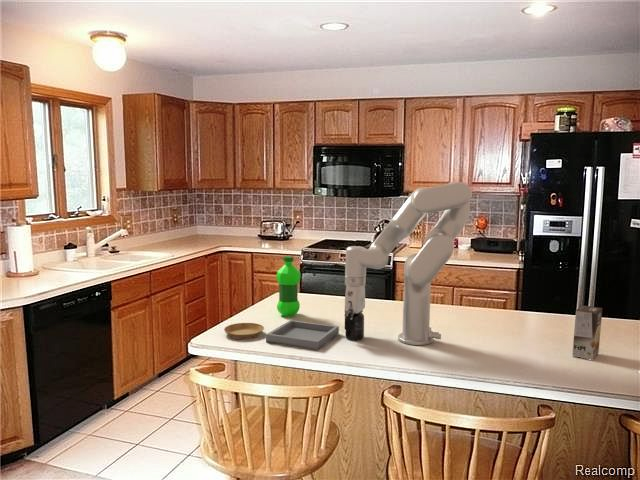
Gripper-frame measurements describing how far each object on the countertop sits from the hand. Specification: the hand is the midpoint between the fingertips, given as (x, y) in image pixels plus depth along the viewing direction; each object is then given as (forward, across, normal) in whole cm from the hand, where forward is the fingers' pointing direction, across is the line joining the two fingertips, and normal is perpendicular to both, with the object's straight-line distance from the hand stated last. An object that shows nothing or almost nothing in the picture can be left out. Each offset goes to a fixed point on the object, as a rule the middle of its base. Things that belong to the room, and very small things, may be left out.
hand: (353, 326), depth 192 cm
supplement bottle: (+5, 0, -1) cm, 5 cm away
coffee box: (+3, +15, -78) cm, 79 cm away
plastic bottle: (+5, +18, +35) cm, 40 cm away
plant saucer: (+6, -13, +38) cm, 41 cm away
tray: (+5, -8, +16) cm, 19 cm away
